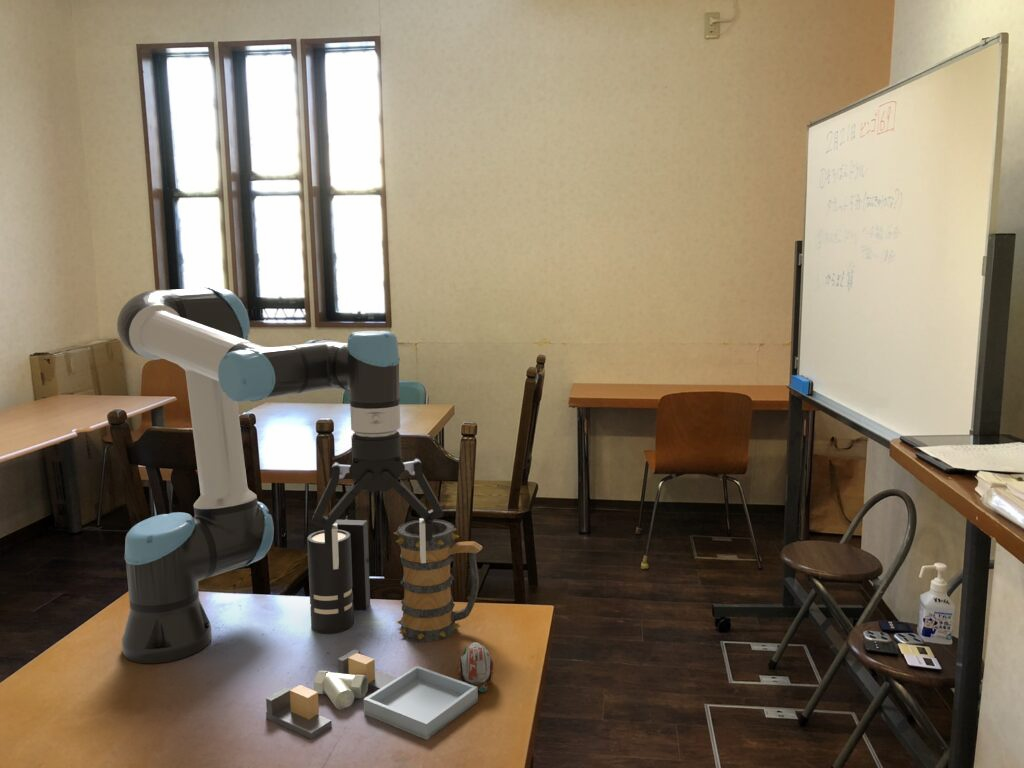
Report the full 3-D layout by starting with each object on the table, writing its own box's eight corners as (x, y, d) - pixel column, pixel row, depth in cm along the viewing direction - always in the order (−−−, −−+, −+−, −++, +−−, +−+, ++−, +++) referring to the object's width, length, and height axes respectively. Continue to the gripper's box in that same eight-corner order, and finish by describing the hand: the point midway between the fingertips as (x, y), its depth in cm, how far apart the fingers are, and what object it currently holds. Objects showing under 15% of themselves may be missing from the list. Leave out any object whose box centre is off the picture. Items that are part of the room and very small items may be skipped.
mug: (405, 612, 164) (402, 515, 161) (490, 618, 161) (489, 519, 158) (385, 642, 151) (381, 537, 148) (476, 648, 149) (475, 542, 145)
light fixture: (300, 632, 155) (296, 542, 153) (325, 602, 169) (321, 519, 166) (350, 635, 154) (347, 544, 152) (371, 604, 168) (368, 520, 165)
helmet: (458, 698, 134) (458, 671, 130) (457, 657, 141) (457, 631, 137) (494, 696, 135) (495, 669, 131) (491, 656, 141) (492, 629, 137)
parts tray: (364, 714, 127) (363, 699, 127) (417, 679, 138) (416, 665, 137) (426, 739, 120) (426, 724, 120) (477, 701, 131) (477, 686, 130)
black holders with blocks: (266, 718, 126) (264, 691, 126) (354, 667, 142) (353, 643, 141) (311, 739, 121) (310, 710, 120) (398, 683, 136) (397, 658, 136)
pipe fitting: (352, 716, 128) (369, 691, 134) (351, 694, 127) (367, 670, 133) (305, 711, 130) (323, 686, 136) (303, 689, 129) (321, 665, 135)
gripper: (290, 440, 121) (296, 577, 124) (459, 433, 125) (461, 566, 129) (294, 430, 128) (300, 559, 132) (454, 423, 133) (455, 549, 136)
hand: (379, 563), depth 130 cm, fingers open, 13 cm apart
